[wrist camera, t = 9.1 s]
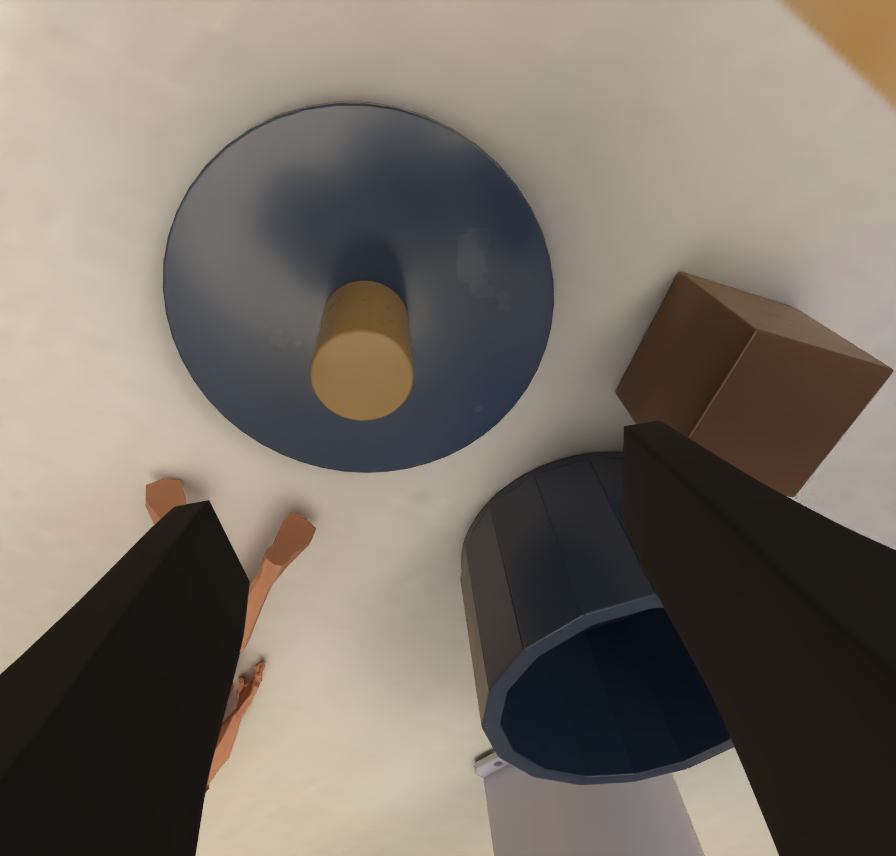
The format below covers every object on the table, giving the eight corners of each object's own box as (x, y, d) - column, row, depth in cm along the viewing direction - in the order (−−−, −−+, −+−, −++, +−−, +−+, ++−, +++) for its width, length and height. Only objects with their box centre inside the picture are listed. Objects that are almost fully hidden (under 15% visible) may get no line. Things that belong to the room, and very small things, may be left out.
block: (722, 419, 21) (794, 498, 17) (614, 392, 20) (666, 471, 16) (795, 307, 19) (896, 370, 15) (678, 270, 18) (755, 328, 14)
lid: (366, 503, 21) (363, 599, 18) (94, 296, 16) (8, 369, 13) (612, 316, 18) (671, 385, 14) (367, -13, 13) (361, -38, 9)
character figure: (150, 460, 20) (60, 814, 31) (97, 534, 17) (16, 901, 28) (334, 518, 22) (186, 835, 33) (318, 597, 19) (160, 920, 30)
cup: (553, 661, 28) (594, 812, 22) (408, 554, 23) (416, 712, 18) (746, 550, 25) (850, 694, 19) (626, 401, 20) (718, 535, 15)
